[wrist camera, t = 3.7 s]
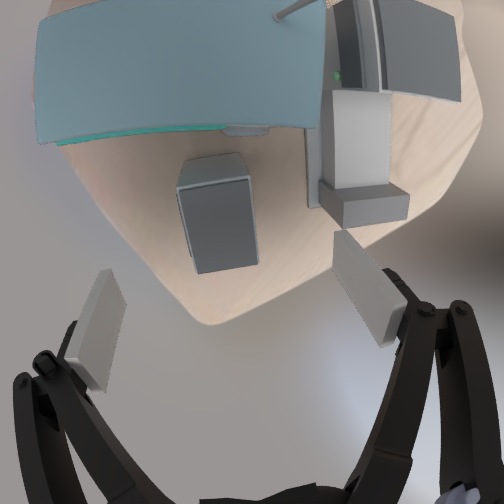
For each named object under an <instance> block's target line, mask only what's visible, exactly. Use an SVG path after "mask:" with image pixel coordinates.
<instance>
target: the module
mask: <svg viewBox="0 0 504 504" xmlns="http://www.w3.org/2000/svg"><path fill="white" fill-rule="evenodd" d="M176 190H177V195H176V196H177V201H178V205H179V210H180V214H181V218H182V223H183V227H184V231H185V235H186V240H187V244H188V248H189V252H190V256H191V257H192V259H193V263H194V267H195V271H196V273H198V274H203V273H209V272H215V271H221V270H228V269H234V268H239V267H245V266H251V265H257V264H258V263H260V261H259V251H258V242H257V233H256V223H255V214H254V205H253V196H252V186H251V177H250V174H249V172H248V170H247V168H246V166H245V164H244V163H243V161H242V159H241V157H240V155H239V153H231V154H225V155H218V156H212V157H206V158H200V159H194V160H189V161H185V162H184V165H183V168H182V170H181V173H180V177H179V180H178V183H177V186H176Z"/></svg>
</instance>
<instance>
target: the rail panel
mask: <svg viewBox="0 0 504 504" xmlns="http://www.w3.org/2000/svg"><path fill="white" fill-rule="evenodd" d="M305 146H306V168H307V200H308V208H309V209H311V208H318V207H322V206H321V205H320V204H319V194H318V180H324V181H325V182H327V183H328V184H329V185H330V186H332V187H333V188H334V189H342V188H352V187H362V186H373V185H385V184H389V175H390V157H391V94H390V93H379V92H367V91H349V90H322V99H321V111H320V120H319V126H318V128H316V129H306V128H305Z"/></svg>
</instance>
